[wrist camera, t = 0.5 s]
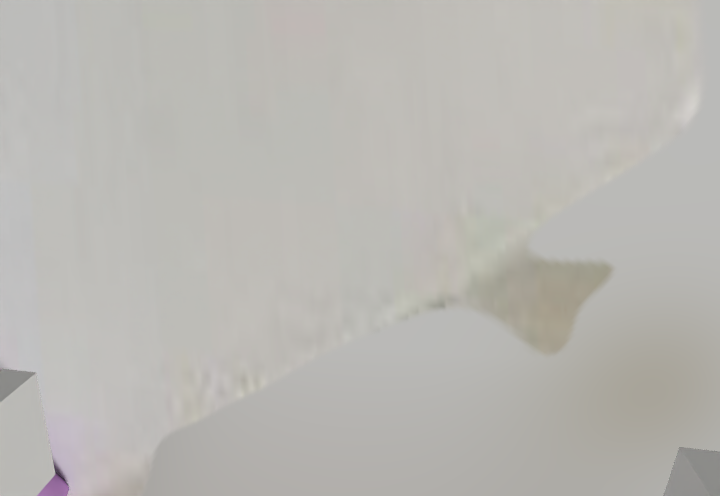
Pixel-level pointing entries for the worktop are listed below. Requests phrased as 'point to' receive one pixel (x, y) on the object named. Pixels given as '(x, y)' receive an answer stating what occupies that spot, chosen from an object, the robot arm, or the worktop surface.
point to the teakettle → (55, 487)
